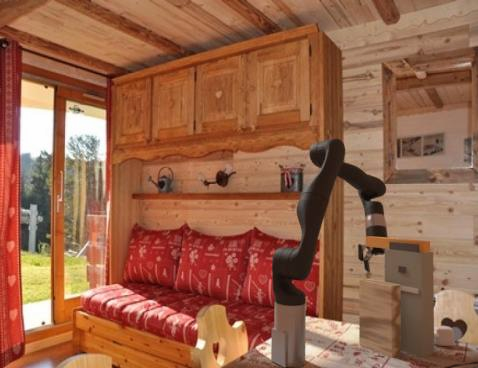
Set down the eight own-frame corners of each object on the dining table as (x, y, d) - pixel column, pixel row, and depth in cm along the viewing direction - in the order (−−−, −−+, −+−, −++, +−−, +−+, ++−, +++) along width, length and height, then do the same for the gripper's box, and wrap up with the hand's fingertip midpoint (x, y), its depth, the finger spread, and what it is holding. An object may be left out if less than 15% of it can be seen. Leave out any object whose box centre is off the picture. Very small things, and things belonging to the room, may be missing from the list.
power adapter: (420, 345, 130) (420, 328, 131) (415, 340, 135) (415, 323, 136) (455, 347, 129) (455, 329, 129) (449, 342, 134) (449, 325, 134)
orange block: (424, 252, 122) (424, 241, 123) (365, 246, 140) (365, 236, 141) (430, 252, 124) (430, 241, 125) (371, 245, 142) (371, 236, 143)
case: (421, 358, 119) (420, 245, 121) (384, 345, 130) (384, 241, 132) (434, 353, 124) (433, 244, 126) (397, 341, 134) (396, 240, 136)
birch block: (391, 357, 120) (391, 286, 121) (359, 345, 130) (359, 280, 131) (401, 353, 123) (400, 284, 124) (368, 342, 132) (368, 278, 134)
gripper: (353, 227, 147) (357, 269, 139) (393, 221, 140) (399, 265, 132) (359, 234, 152) (363, 275, 144) (398, 229, 145) (403, 271, 137)
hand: (380, 270), depth 138 cm, fingers open, 8 cm apart
